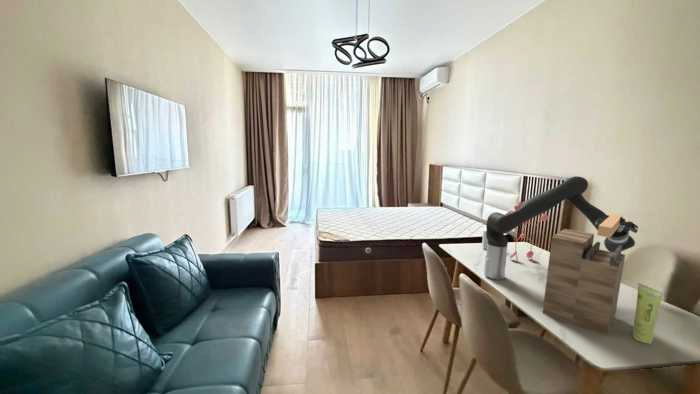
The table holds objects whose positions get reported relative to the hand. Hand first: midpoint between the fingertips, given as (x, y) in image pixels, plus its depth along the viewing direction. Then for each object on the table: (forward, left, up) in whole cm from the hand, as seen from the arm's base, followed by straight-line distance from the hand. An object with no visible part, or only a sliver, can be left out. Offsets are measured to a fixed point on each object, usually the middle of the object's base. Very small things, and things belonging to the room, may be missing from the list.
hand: (614, 218), depth 117 cm
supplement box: (-35, +68, -39) cm, 86 cm away
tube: (+5, -18, -39) cm, 43 cm away
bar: (-3, -5, -3) cm, 7 cm away
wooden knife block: (-10, -7, -39) cm, 41 cm away
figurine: (-20, +54, -39) cm, 70 cm away
